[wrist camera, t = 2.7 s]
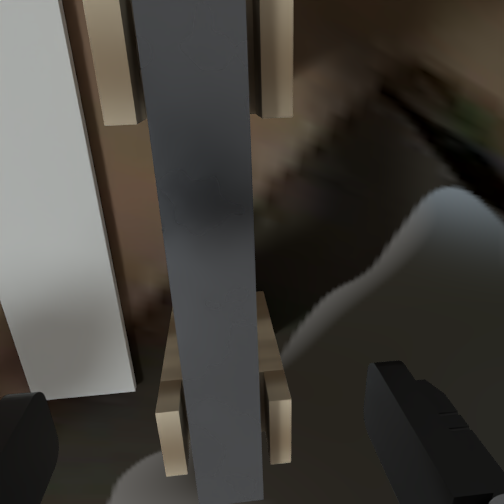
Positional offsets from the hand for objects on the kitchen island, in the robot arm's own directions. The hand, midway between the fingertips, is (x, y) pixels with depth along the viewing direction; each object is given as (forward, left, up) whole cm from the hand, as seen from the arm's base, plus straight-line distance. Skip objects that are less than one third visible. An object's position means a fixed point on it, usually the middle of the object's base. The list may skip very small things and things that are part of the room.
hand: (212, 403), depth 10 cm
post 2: (+8, 0, -16) cm, 18 cm away
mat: (0, -10, -16) cm, 19 cm away
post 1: (-8, 0, -16) cm, 18 cm away
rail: (0, 0, -8) cm, 8 cm away
